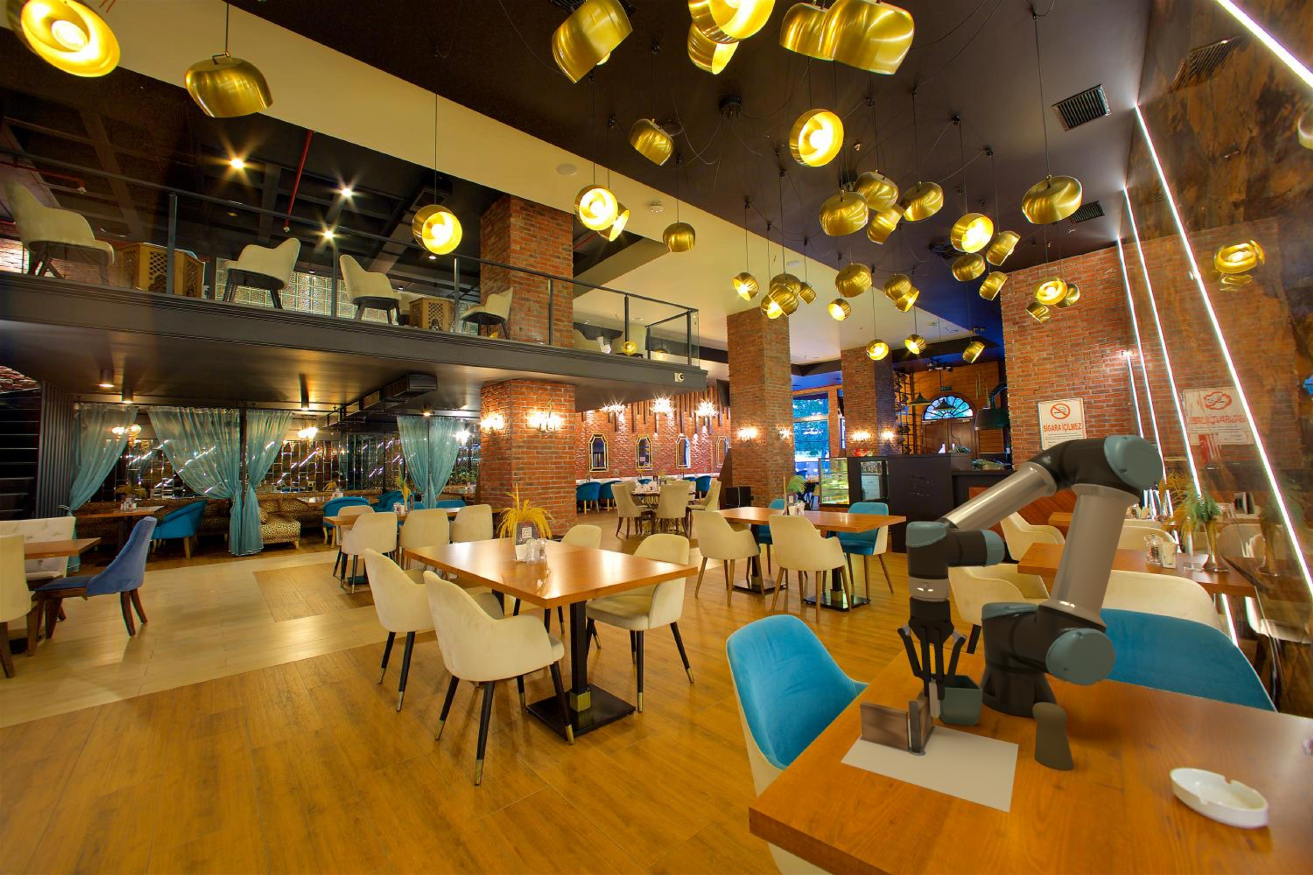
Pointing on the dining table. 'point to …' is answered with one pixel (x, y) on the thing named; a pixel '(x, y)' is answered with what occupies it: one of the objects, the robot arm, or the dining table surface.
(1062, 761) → the cork
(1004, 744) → the card
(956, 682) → the flower pot
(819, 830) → the dining table surface
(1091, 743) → the dining table surface
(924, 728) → the fence panel
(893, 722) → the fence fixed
